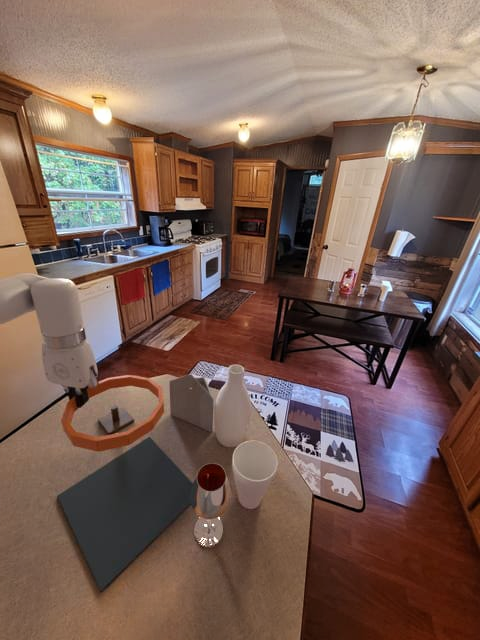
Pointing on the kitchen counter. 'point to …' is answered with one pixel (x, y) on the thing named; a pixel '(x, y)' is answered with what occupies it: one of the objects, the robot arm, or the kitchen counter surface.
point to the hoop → (118, 438)
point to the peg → (115, 419)
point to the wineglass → (210, 502)
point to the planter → (192, 401)
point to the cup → (253, 471)
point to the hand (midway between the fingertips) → (80, 402)
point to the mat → (125, 508)
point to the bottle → (232, 409)
